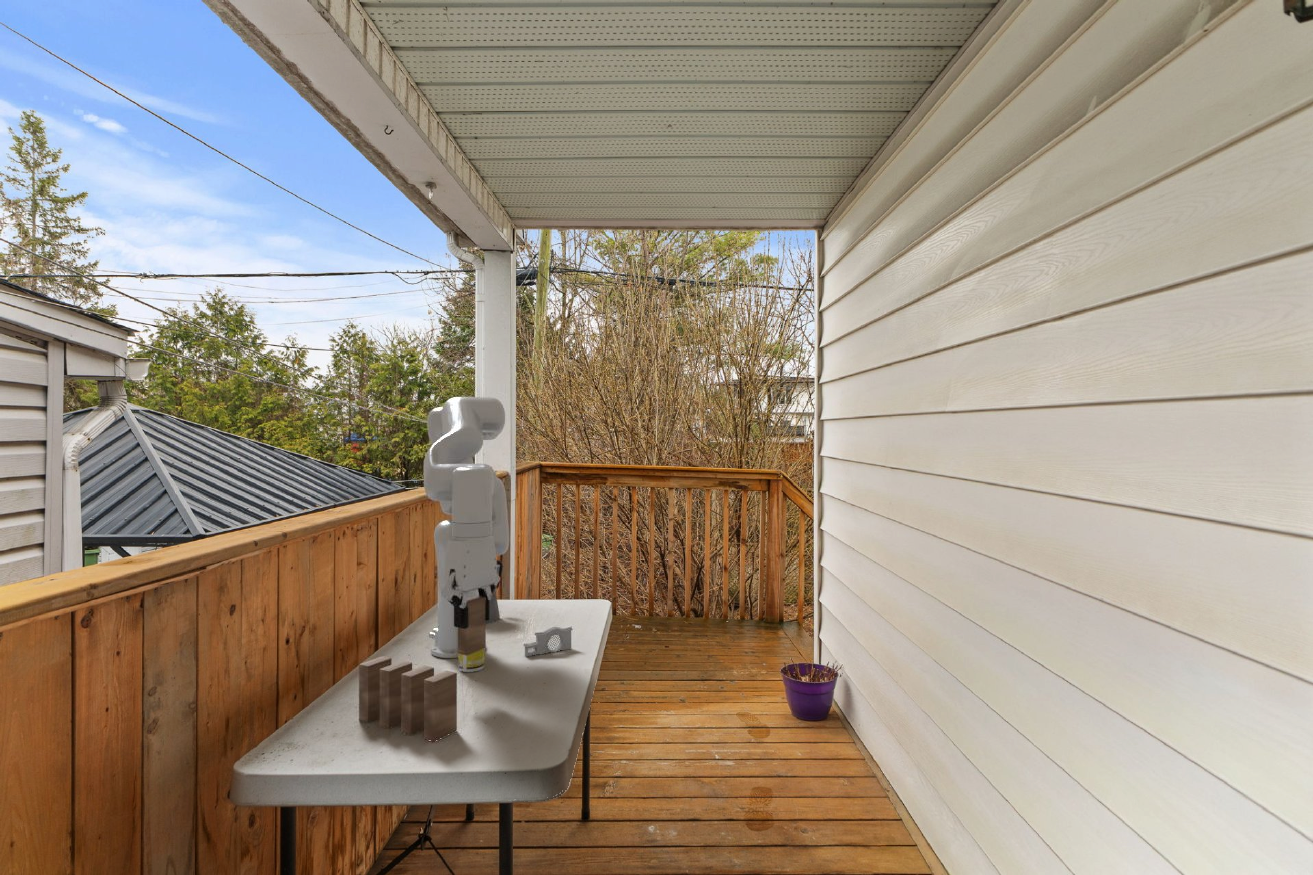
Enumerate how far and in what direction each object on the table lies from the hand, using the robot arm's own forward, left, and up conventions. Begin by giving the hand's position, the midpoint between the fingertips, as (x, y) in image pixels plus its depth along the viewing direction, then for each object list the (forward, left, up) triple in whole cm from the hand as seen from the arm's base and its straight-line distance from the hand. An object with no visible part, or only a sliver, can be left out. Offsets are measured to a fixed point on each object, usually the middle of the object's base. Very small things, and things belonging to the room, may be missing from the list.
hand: (471, 622), depth 126 cm
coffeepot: (-40, +46, -15) cm, 62 cm away
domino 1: (-10, -14, -15) cm, 23 cm away
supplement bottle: (-13, +13, -15) cm, 23 cm away
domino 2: (-4, -14, -15) cm, 21 cm away
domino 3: (+1, -14, -15) cm, 21 cm away
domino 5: (0, 0, -6) cm, 6 cm away
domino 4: (+7, -14, -15) cm, 22 cm away
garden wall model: (-5, +30, -15) cm, 33 cm away
